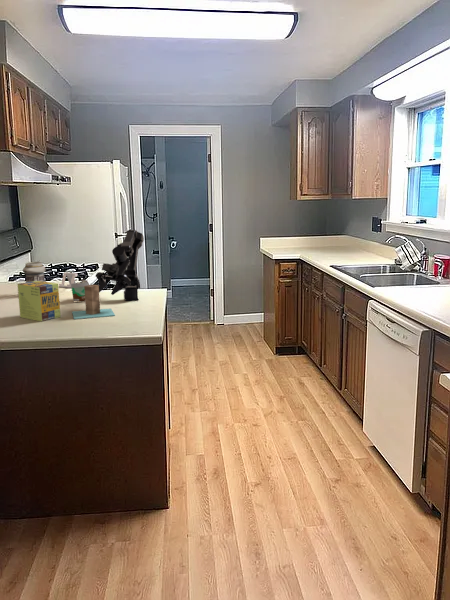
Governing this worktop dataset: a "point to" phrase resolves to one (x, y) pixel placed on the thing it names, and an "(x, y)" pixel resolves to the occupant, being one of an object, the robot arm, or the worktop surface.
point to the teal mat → (102, 314)
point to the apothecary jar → (34, 271)
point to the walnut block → (92, 299)
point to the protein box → (39, 300)
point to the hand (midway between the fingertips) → (104, 293)
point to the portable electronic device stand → (70, 278)
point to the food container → (79, 290)
